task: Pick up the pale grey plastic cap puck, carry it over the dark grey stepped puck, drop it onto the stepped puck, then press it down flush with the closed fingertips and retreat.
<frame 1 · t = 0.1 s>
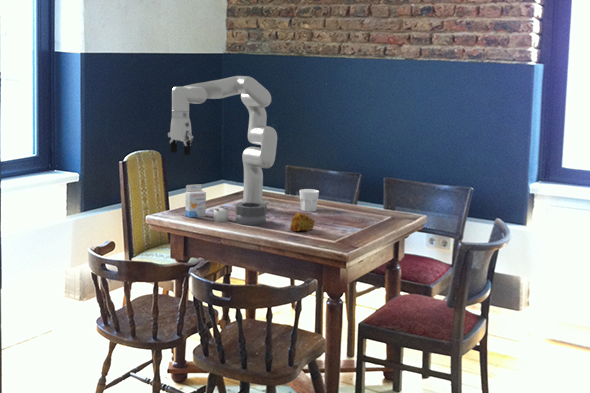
hand: (180, 153, 294), 31 cm above the table, fingers open, 9 cm apart
cap: (221, 220, 306), on the table
cup: (308, 210, 337), on the table
ink box: (195, 216, 313), on the table
rock: (301, 230, 293), on the table
grey stepped puck: (250, 221, 305), on the table
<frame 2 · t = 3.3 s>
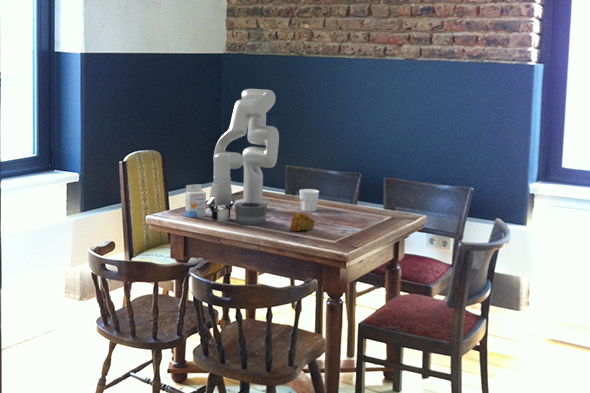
hand: (221, 218, 306), 1 cm above the table, fingers closed on cap, 7 cm apart
cap: (220, 220, 306), on the table, touching gripper
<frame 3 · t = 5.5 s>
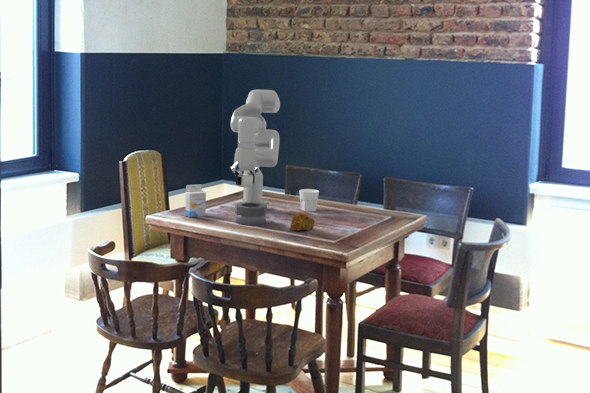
hand: (245, 183, 302), 18 cm above the table, fingers closed on cap, 7 cm apart
cap: (245, 185, 302), point 17 cm above the table, touching gripper
when the fingers open (10 cm above the table, at t = 7.8 s): cap drops 5 cm, resting on grey stepped puck.
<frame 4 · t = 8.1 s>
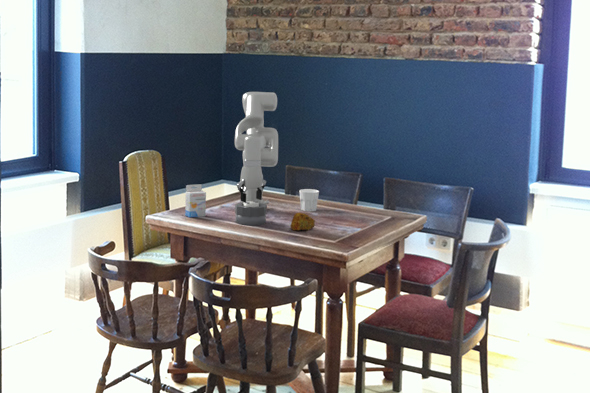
hand: (251, 200, 303), 10 cm above the table, fingers open, 9 cm apart
cap: (251, 213, 304), point 4 cm above the table, touching grey stepped puck
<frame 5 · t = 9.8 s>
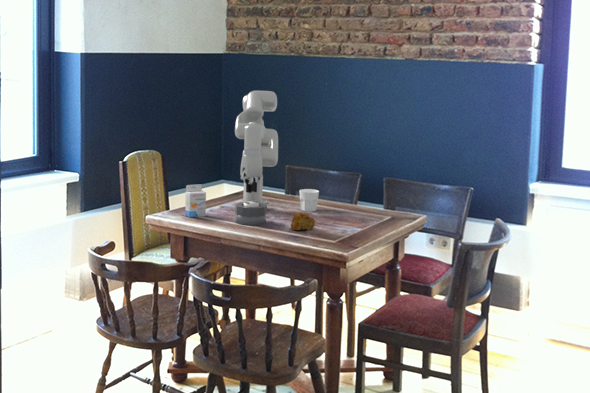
hand: (251, 191, 302), 14 cm above the table, fingers closed
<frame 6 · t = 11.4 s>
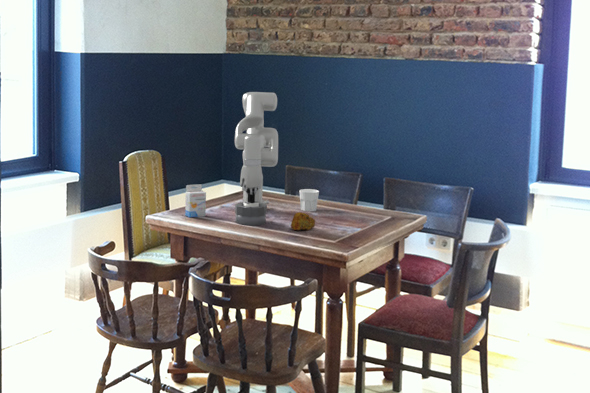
hand: (251, 202, 303), 9 cm above the table, fingers closed
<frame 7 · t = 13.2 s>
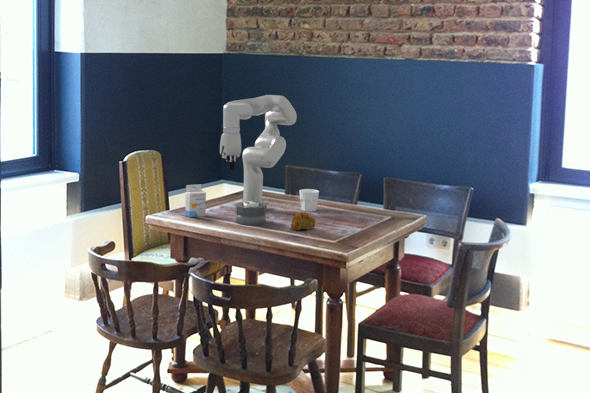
hand: (230, 169, 310), 23 cm above the table, fingers closed
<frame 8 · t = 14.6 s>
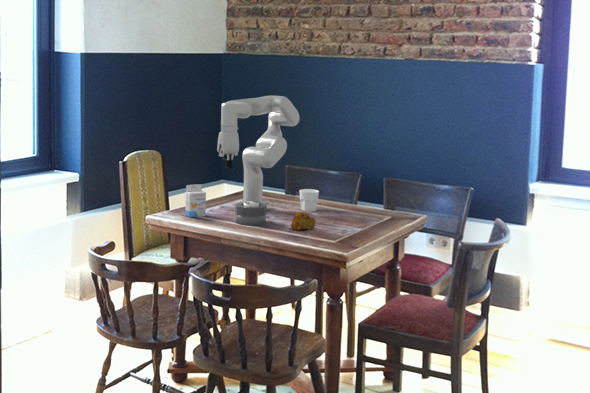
hand: (228, 168, 311), 23 cm above the table, fingers closed
at the end: cap 0.1 cm off-centre on the grey stepped puck, point 4.0 cm above the grey stepped puck's base; cap tilted 0°; the gripper is holding nothing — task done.
